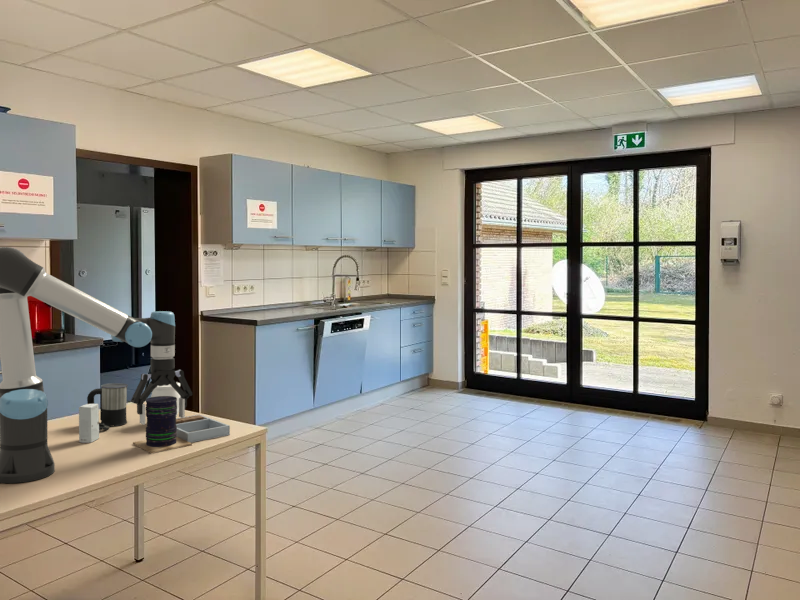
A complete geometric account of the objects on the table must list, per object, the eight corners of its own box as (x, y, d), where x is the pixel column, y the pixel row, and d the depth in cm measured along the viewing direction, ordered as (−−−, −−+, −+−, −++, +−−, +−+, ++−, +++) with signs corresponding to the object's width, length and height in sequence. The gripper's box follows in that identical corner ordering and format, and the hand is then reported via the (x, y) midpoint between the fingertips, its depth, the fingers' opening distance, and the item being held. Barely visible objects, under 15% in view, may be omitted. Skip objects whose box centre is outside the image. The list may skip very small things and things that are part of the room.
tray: (187, 443, 211) (187, 433, 211) (158, 430, 226) (158, 421, 226) (229, 434, 223) (229, 425, 223) (199, 423, 238) (199, 414, 238)
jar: (186, 422, 239) (186, 383, 238) (163, 427, 231) (163, 387, 230) (168, 417, 245) (168, 380, 244) (145, 423, 236) (145, 384, 235)
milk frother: (126, 419, 241) (126, 382, 240) (131, 429, 227) (131, 389, 226) (85, 423, 233) (84, 384, 233) (88, 434, 220) (88, 392, 219)
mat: (151, 453, 199) (151, 451, 199) (132, 444, 209) (132, 442, 209) (192, 445, 209) (192, 443, 209) (172, 436, 219) (172, 434, 219)
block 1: (183, 431, 226) (183, 420, 226) (177, 429, 229) (177, 418, 229) (193, 429, 230) (193, 418, 229) (187, 427, 232) (187, 416, 232)
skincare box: (91, 443, 209) (91, 407, 208) (78, 442, 209) (78, 407, 208) (99, 437, 215) (99, 403, 214) (86, 437, 215) (86, 403, 214)
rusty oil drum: (139, 444, 207) (139, 399, 206) (162, 437, 215) (163, 394, 215) (159, 448, 202) (160, 403, 201) (183, 441, 211) (183, 398, 210)
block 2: (193, 429, 230) (193, 418, 229) (189, 427, 232) (189, 416, 232) (203, 427, 232) (203, 417, 232) (199, 425, 235) (199, 415, 235)
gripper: (129, 362, 196) (129, 428, 197) (202, 355, 214) (202, 416, 215) (120, 359, 201) (120, 424, 202) (192, 353, 219) (191, 412, 220)
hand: (162, 420), depth 209 cm, fingers open, 13 cm apart
